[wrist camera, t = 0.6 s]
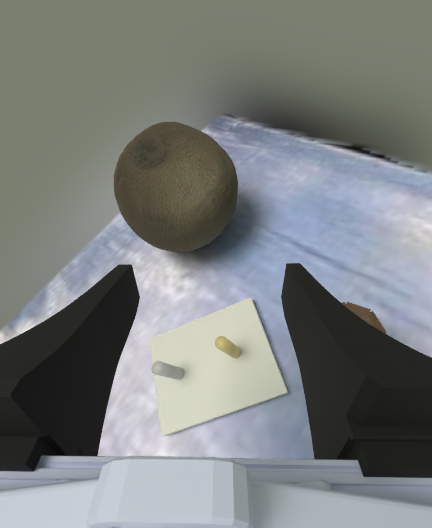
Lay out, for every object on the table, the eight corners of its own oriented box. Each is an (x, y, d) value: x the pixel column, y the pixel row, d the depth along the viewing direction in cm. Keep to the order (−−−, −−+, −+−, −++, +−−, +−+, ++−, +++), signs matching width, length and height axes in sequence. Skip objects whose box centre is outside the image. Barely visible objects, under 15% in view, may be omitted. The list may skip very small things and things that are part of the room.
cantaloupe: (173, 292, 35) (90, 227, 23) (150, 220, 43) (79, 143, 31) (270, 240, 34) (237, 140, 22) (228, 175, 42) (186, 76, 30)
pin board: (288, 393, 26) (280, 388, 21) (167, 435, 28) (134, 439, 23) (253, 300, 31) (239, 280, 26) (154, 341, 33) (125, 329, 28)
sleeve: (384, 363, 24) (398, 351, 19) (333, 381, 25) (335, 373, 20) (356, 317, 27) (362, 295, 22) (310, 334, 27) (307, 316, 22)
